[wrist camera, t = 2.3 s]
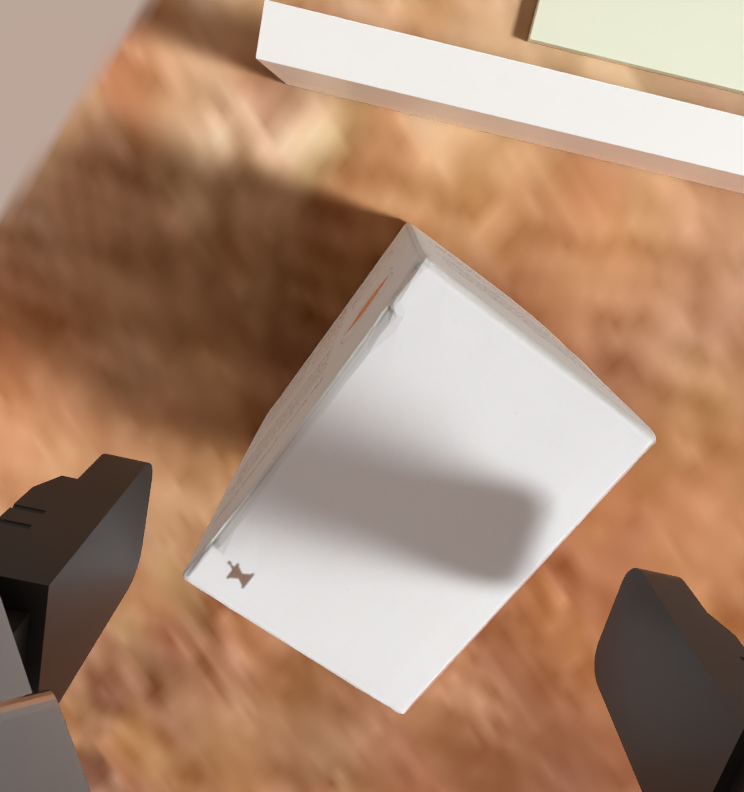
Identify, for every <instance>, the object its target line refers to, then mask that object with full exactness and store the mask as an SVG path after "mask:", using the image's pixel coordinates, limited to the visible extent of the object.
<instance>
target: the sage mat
mask: <svg viewBox="0 0 744 792" xmlns="http://www.w3.org/2000/svg"><path fill="white" fill-rule="evenodd" d="M527 41H528V42H532V43H536V44H540V45H544V46H548V47H552V48H556V49H560V50H564V51H568V52H573V53H577V54H581V55H585V56H589V57H593V58H597V59H601V60H605V61H609V62H613V63H617V64H621V65H625V66H630V67H634V68H638V69H642V70H646V71H650V72H654V73H658V74H662V75H666V76H670V77H674V78H678V79H682V80H686V81H691V82H695V83H699V84H703V85H707V86H711V87H715V88H719V89H723V90H727V91H731V92H735V93H739V94H743V95H744V0H538V2H537V5H536V9H535V13H534V17H533V21H532V24H531V28H530V32H529V36H528V39H527Z"/></svg>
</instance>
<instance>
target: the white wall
mask: <svg viewBox="0 0 744 792" xmlns="http://www.w3.org/2000/svg"><path fill="white" fill-rule="evenodd" d="M256 59H257V60H258V61H259V62H261V63H262V64H263V65H264V66H265V67H267V68H268V69H269V70H270V71H271V72H273V73H274V74H275V75H276V76H277V77H279V78H280V79H281V80H282V81H283V82H284V83H286V84H287V85H291V86H295V87H299V88H303V89H307V90H311V91H316V92H320V93H324V94H328V95H332V96H337V97H341V98H345V99H349V100H353V101H357V102H362V103H366V104H370V105H374V106H378V107H383V108H387V109H391V110H395V111H399V112H403V113H408V114H412V115H416V116H420V117H424V118H428V119H433V120H437V121H441V122H445V123H449V124H454V125H458V126H462V127H466V128H470V129H474V130H479V131H483V132H487V133H491V134H495V135H499V136H504V137H508V138H512V139H516V140H520V141H525V142H529V143H533V144H537V145H541V146H545V147H550V148H554V149H558V150H562V151H566V152H571V153H575V154H579V155H583V156H587V157H591V158H596V159H600V160H604V161H608V162H612V163H616V164H621V165H625V166H629V167H633V168H637V169H642V170H646V171H650V172H654V173H658V174H662V175H667V176H671V177H675V178H679V179H683V180H687V181H692V182H696V183H700V184H704V185H708V186H713V187H717V188H721V189H725V190H729V191H733V192H738V193H742V194H744V116H739V115H735V114H731V113H727V112H723V111H719V110H715V109H711V108H707V107H703V106H699V105H694V104H690V103H686V102H682V101H678V100H674V99H670V98H666V97H662V96H658V95H654V94H649V93H645V92H641V91H637V90H633V89H629V88H625V87H621V86H617V85H613V84H609V83H604V82H600V81H596V80H592V79H588V78H584V77H580V76H576V75H572V74H568V73H563V72H559V71H555V70H551V69H547V68H543V67H539V66H535V65H531V64H527V63H523V62H518V61H514V60H510V59H506V58H502V57H498V56H494V55H490V54H486V53H482V52H478V51H473V50H469V49H465V48H461V47H457V46H453V45H449V44H445V43H441V42H437V41H433V40H428V39H424V38H420V37H416V36H412V35H408V34H404V33H400V32H396V31H392V30H388V29H383V28H379V27H375V26H371V25H367V24H363V23H359V22H355V21H351V20H347V19H342V18H338V17H334V16H330V15H326V14H322V13H318V12H314V11H310V10H306V9H302V8H297V7H293V6H289V5H285V4H281V3H277V2H273V1H269V0H265V2H264V8H263V14H262V21H261V27H260V34H259V40H258V46H257V53H256Z"/></svg>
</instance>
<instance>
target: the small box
mask: <svg viewBox="0 0 744 792" xmlns="http://www.w3.org/2000/svg"><path fill="white" fill-rule="evenodd" d="M655 442H656V437H655V434H654V433H653V431H652V430H651V429H650V428H649V427H648V426H647V425H646V424H645V423H644V422H643V421H642V420H641V419H640V418H639V417H638V416H637V415H636V414H635V413H634V412H633V411H632V410H631V409H630V408H629V407H628V406H627V405H626V404H625V403H624V402H623V401H621V400H620V399H619V398H618V397H617V396H616V395H615V394H614V393H613V392H612V391H611V390H610V389H609V388H608V387H607V386H606V385H605V384H604V383H603V382H602V381H601V380H600V379H599V378H598V377H597V376H596V375H595V374H594V373H593V372H592V371H591V370H590V369H589V368H588V367H587V366H586V365H585V364H584V363H583V362H582V361H581V360H580V359H579V358H578V357H577V356H576V355H574V354H573V353H572V352H571V351H570V350H569V349H568V348H567V347H565V346H564V345H563V344H562V343H561V342H560V340H559V339H558V338H557V337H555V336H554V335H553V334H552V333H551V332H550V331H549V330H548V329H547V328H546V327H544V326H543V325H542V324H541V323H540V322H539V321H538V320H536V319H535V318H534V317H533V316H532V315H531V314H529V313H528V312H527V311H526V310H524V309H523V308H522V307H521V306H520V305H518V304H517V303H516V302H515V301H513V300H512V299H511V298H510V297H508V296H507V295H506V294H504V293H503V292H502V291H501V290H499V289H498V288H497V287H495V286H494V285H493V284H491V283H490V282H489V281H487V280H486V279H485V278H484V277H482V276H481V275H480V274H478V273H477V272H476V271H474V270H473V269H472V268H470V267H469V266H468V265H467V264H465V263H464V262H462V261H461V260H460V259H458V258H457V257H456V256H454V255H453V254H452V253H450V252H449V251H448V250H446V249H445V248H444V247H442V246H441V245H440V244H438V243H437V242H435V241H434V240H433V239H431V238H430V237H429V236H427V235H426V234H425V233H423V232H422V231H421V230H419V229H418V228H417V227H415V226H414V225H413V224H411V223H406V224H404V226H403V227H402V229H401V230H400V232H399V233H398V235H397V236H396V237H395V239H394V240H393V242H392V243H391V244H390V246H389V247H388V248H387V250H386V251H385V253H384V254H383V255H382V257H381V258H380V259H379V261H378V262H377V264H376V265H375V266H374V268H373V269H372V271H371V272H370V273H369V275H368V276H367V278H366V279H365V280H364V282H363V283H362V284H361V286H360V287H359V289H358V290H357V291H356V293H355V294H354V295H353V297H352V298H351V300H350V301H349V302H348V304H347V305H346V307H345V308H344V309H343V311H342V312H341V313H340V315H339V316H338V318H337V319H336V320H335V322H334V323H333V324H332V326H331V327H330V329H329V330H328V331H327V333H326V334H325V335H324V337H323V338H322V340H321V341H320V342H319V344H318V345H317V346H316V348H315V349H314V351H313V352H312V353H311V355H310V356H309V357H308V359H307V360H306V362H305V363H304V364H303V366H302V367H301V368H300V370H299V371H298V373H297V374H296V375H295V377H294V378H293V380H292V381H291V382H290V384H289V385H288V386H287V388H286V389H285V391H284V392H283V393H282V395H281V396H280V398H279V399H278V400H277V402H276V403H275V404H274V405H273V407H272V408H271V409H270V411H269V412H268V414H267V415H266V417H265V419H264V421H263V422H262V424H261V426H260V428H259V430H258V431H257V433H256V435H255V437H254V439H253V441H252V443H251V444H250V446H249V448H248V450H247V452H246V454H245V456H244V457H243V459H242V461H241V463H240V465H239V467H238V469H237V471H236V472H235V474H234V476H233V478H232V480H231V482H230V484H229V486H228V488H227V490H226V492H225V494H224V496H223V498H222V500H221V502H220V504H219V506H218V508H217V510H216V512H215V514H214V516H213V518H212V520H211V522H210V523H209V525H208V527H207V529H206V531H205V533H204V535H203V537H202V538H201V540H200V542H199V544H198V546H197V548H196V550H195V552H194V554H193V556H192V558H191V559H190V561H189V563H188V565H187V567H186V568H185V570H184V572H183V577H184V579H185V580H186V581H188V582H190V583H191V584H193V585H194V586H196V587H197V588H199V589H200V590H202V591H204V592H205V593H207V594H208V595H210V596H212V597H213V598H215V599H216V600H218V601H220V602H221V603H223V604H224V605H225V606H227V607H228V608H230V609H232V610H233V611H235V612H237V613H238V614H240V615H242V616H243V617H245V618H246V619H248V620H249V621H251V622H253V623H254V624H256V625H257V626H259V627H261V628H262V629H264V630H265V631H267V632H269V633H270V634H272V635H273V636H275V637H277V638H278V639H280V640H281V641H283V642H285V643H286V644H288V645H289V646H291V647H293V648H294V649H296V650H297V651H299V652H301V653H302V654H304V655H306V656H307V657H309V658H310V659H312V660H314V661H315V662H317V663H318V664H320V665H322V666H323V667H325V668H326V669H328V670H330V671H331V672H333V673H334V674H336V675H337V676H339V677H341V678H342V679H344V680H345V681H347V682H349V683H350V684H352V685H353V686H355V687H357V688H358V689H360V690H362V691H363V692H365V693H367V694H368V695H370V696H371V697H373V698H375V699H376V700H378V701H380V702H382V703H384V704H385V705H387V706H389V707H390V708H392V709H393V710H394V711H396V712H398V713H400V714H405V713H406V712H407V711H408V710H409V709H410V707H411V706H412V705H413V704H414V703H415V702H416V701H417V700H418V699H419V697H420V696H421V695H422V694H423V693H424V692H425V691H426V690H427V689H428V688H429V687H430V686H431V685H432V684H433V682H434V681H435V680H436V679H437V678H438V677H439V676H440V675H441V674H442V673H443V672H444V671H445V670H446V668H447V667H448V666H449V665H450V664H451V663H452V662H453V661H454V660H455V659H456V658H457V656H458V655H459V654H460V653H461V652H462V651H463V650H464V649H465V648H466V647H467V645H468V644H469V643H470V642H471V641H472V640H473V639H474V638H475V637H476V636H477V635H478V634H479V632H480V631H481V630H482V629H483V628H484V627H485V626H486V625H487V624H488V623H489V621H490V620H491V619H492V618H493V617H494V616H495V615H496V614H497V612H498V611H499V610H500V609H501V608H502V607H503V606H504V605H505V604H506V603H507V602H508V601H509V599H510V598H511V597H512V596H513V595H514V594H515V593H516V592H517V591H518V590H519V589H520V588H521V587H522V585H523V584H524V583H525V582H526V581H527V580H528V579H529V578H530V577H531V576H532V575H533V574H534V573H535V572H536V570H537V569H538V568H539V567H540V566H541V565H542V564H543V563H544V562H545V560H546V559H547V558H548V557H549V556H550V555H551V554H552V553H553V552H554V551H555V550H556V548H557V547H558V546H559V545H560V544H561V543H562V542H563V541H564V540H565V539H566V538H567V537H568V535H569V534H570V533H571V532H572V531H573V530H574V529H575V528H576V527H577V526H578V525H579V524H580V523H581V521H582V520H583V519H584V518H585V517H586V516H587V515H588V514H589V513H590V512H591V510H592V509H593V508H594V507H595V506H596V505H597V504H598V503H599V502H600V501H601V500H602V499H603V498H604V496H605V495H606V494H607V493H608V492H609V491H610V490H611V489H612V488H613V487H614V486H615V485H616V484H617V483H618V482H619V481H620V480H621V478H622V477H623V476H624V475H625V474H626V473H627V472H628V471H629V470H630V469H631V467H632V466H633V465H634V464H635V463H636V462H637V461H638V460H639V459H640V458H641V456H642V455H643V454H644V453H645V452H646V451H647V450H648V449H649V448H651V447H652V446H653V445H654V443H655Z"/></svg>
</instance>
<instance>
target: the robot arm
mask: <svg viewBox="0 0 744 792" xmlns="http://www.w3.org/2000/svg"><path fill="white" fill-rule="evenodd" d="M151 482H152V465H151V464H150V463H147V462H142V461H137V460H133V459H128V458H123V457H119V456H114V455H109V454H102V455H101V456H100V457H99V458H98V459H97V460H96V461H95V462H94V463H93V464H92V465H91V466H90V467H89V468H88V469H87V470H86V471H85V472H84V473H83V474H82V475H81V476H80V477H79V478H78V479H75V478H70V477H65V476H60V477H57V478H55V479H52V480H50V481H47V482H45V483H42V484H40V485H37V486H35V487H32V488H31V489H30V490H29V491H28V492H27V493H26V494H25V495H23V496H22V497H21V498H20V499H19V500H18V501H17V502H16V503H15V504H14V506H13V508H9V509H8V510H7V511H6V512H5V513H4V514H2V515H1V516H0V792H91V791H90V788H89V785H88V783H87V780H86V777H85V774H84V772H83V769H82V766H81V764H80V761H79V758H78V755H77V753H76V750H75V747H74V744H73V742H72V739H71V736H70V734H69V731H68V728H67V725H66V723H65V720H64V717H63V714H62V712H61V709H60V706H59V704H58V703H59V702H60V700H61V699H62V697H63V695H64V694H65V692H66V690H67V689H68V687H69V685H70V684H71V682H72V680H73V679H74V677H75V676H76V674H77V672H78V671H79V669H80V667H81V666H82V664H83V662H84V661H85V659H86V657H87V656H88V654H89V652H90V651H91V649H92V648H93V646H94V644H95V643H96V641H97V639H98V638H99V636H100V634H101V633H102V631H103V629H104V628H105V626H106V625H107V623H108V621H109V620H110V618H111V616H112V615H113V613H114V611H115V610H116V608H117V606H118V605H119V603H120V602H121V600H122V598H123V597H124V595H125V593H126V592H127V590H128V588H129V586H130V584H131V582H132V580H133V578H134V575H135V572H136V569H137V566H138V563H139V559H140V555H141V550H142V544H143V537H144V530H145V523H146V516H147V509H148V502H149V495H150V488H151ZM595 677H596V682H597V685H598V687H599V690H600V692H601V694H602V697H603V699H604V702H605V704H606V706H607V709H608V711H609V714H610V716H611V718H612V721H613V723H614V725H615V728H616V730H617V733H618V735H619V737H620V740H621V742H622V745H623V747H624V749H625V752H626V754H627V756H628V759H629V761H630V764H631V766H632V768H633V771H634V773H635V776H636V778H637V780H638V783H639V785H640V787H641V790H642V792H744V647H743V645H742V644H741V643H740V641H739V640H738V639H737V637H736V636H735V635H734V634H733V633H731V632H730V631H729V630H728V629H726V628H725V627H724V626H723V625H722V624H720V623H719V622H718V621H717V620H716V619H714V618H713V617H712V616H711V615H710V614H708V613H707V612H706V610H705V609H704V608H703V606H702V605H701V604H700V602H699V601H698V600H697V598H696V597H695V595H694V594H693V593H692V591H691V590H690V589H689V587H688V586H687V585H686V583H685V582H684V581H683V580H682V579H681V578H680V577H676V576H671V575H667V574H662V573H657V572H653V571H648V570H643V569H638V568H633V569H631V570H630V571H629V572H628V573H627V574H626V575H625V577H624V579H623V581H622V584H621V586H620V589H619V591H618V594H617V596H616V599H615V602H614V604H613V607H612V609H611V612H610V614H609V617H608V619H607V622H606V625H605V627H604V630H603V632H602V635H601V637H600V640H599V643H598V645H597V649H596V654H595Z"/></svg>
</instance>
